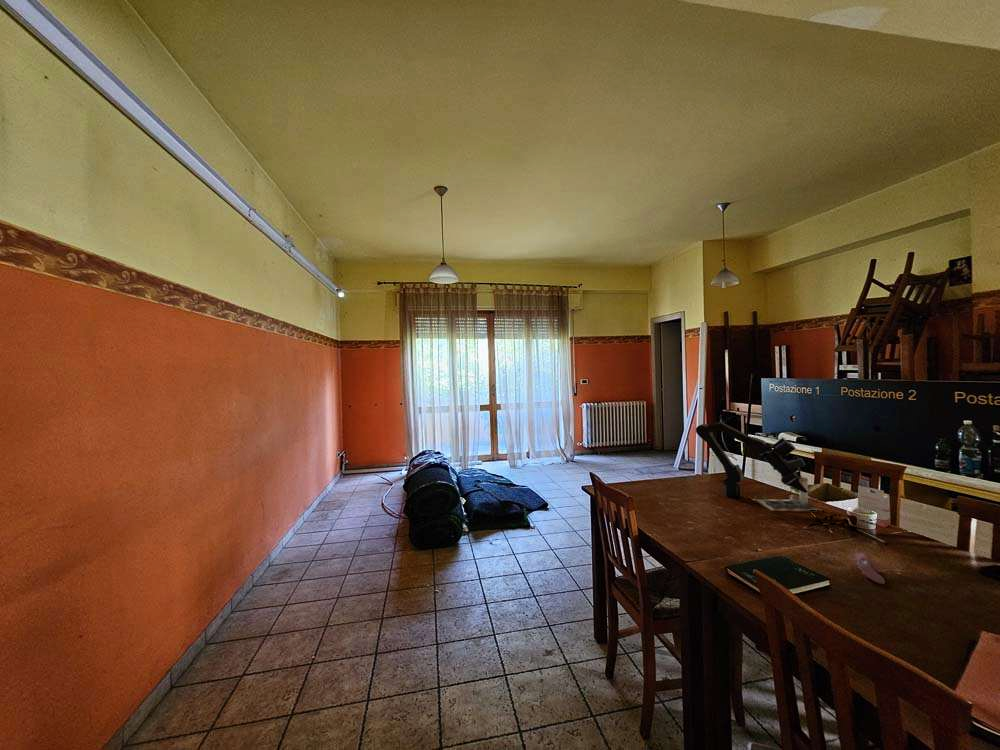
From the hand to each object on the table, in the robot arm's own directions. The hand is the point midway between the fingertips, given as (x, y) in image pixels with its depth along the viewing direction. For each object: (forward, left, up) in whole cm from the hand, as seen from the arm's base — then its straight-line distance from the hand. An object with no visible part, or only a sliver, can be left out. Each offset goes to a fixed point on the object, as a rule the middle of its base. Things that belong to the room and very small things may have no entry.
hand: (807, 489), depth 169 cm
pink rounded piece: (-20, -56, -9) cm, 60 cm away
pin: (-1, +1, -8) cm, 8 cm away
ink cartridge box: (+16, -14, -9) cm, 23 cm away
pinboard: (-7, +4, -9) cm, 12 cm away
